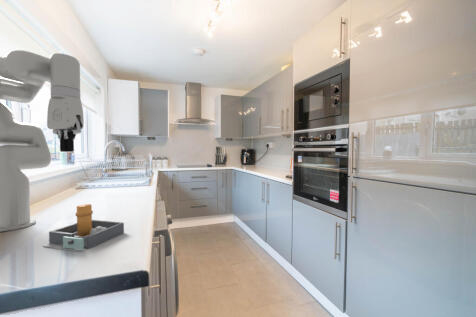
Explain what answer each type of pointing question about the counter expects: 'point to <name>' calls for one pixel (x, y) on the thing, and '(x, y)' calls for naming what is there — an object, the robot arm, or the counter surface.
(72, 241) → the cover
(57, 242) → the tray
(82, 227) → the peg
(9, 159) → the robot arm
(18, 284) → the counter surface
